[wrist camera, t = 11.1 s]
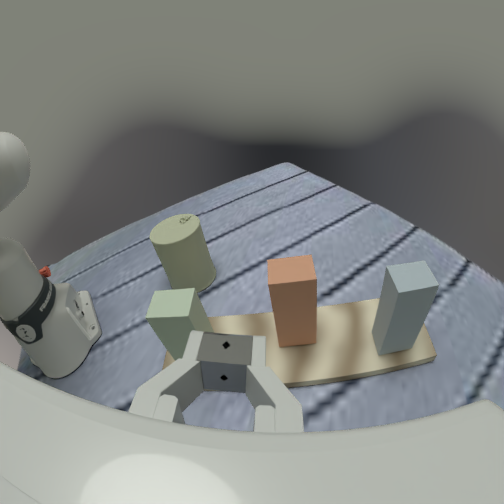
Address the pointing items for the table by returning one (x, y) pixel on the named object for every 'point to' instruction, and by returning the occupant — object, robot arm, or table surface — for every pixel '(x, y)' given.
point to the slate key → (403, 306)
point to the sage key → (177, 318)
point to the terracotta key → (293, 299)
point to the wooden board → (326, 346)
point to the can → (183, 252)
